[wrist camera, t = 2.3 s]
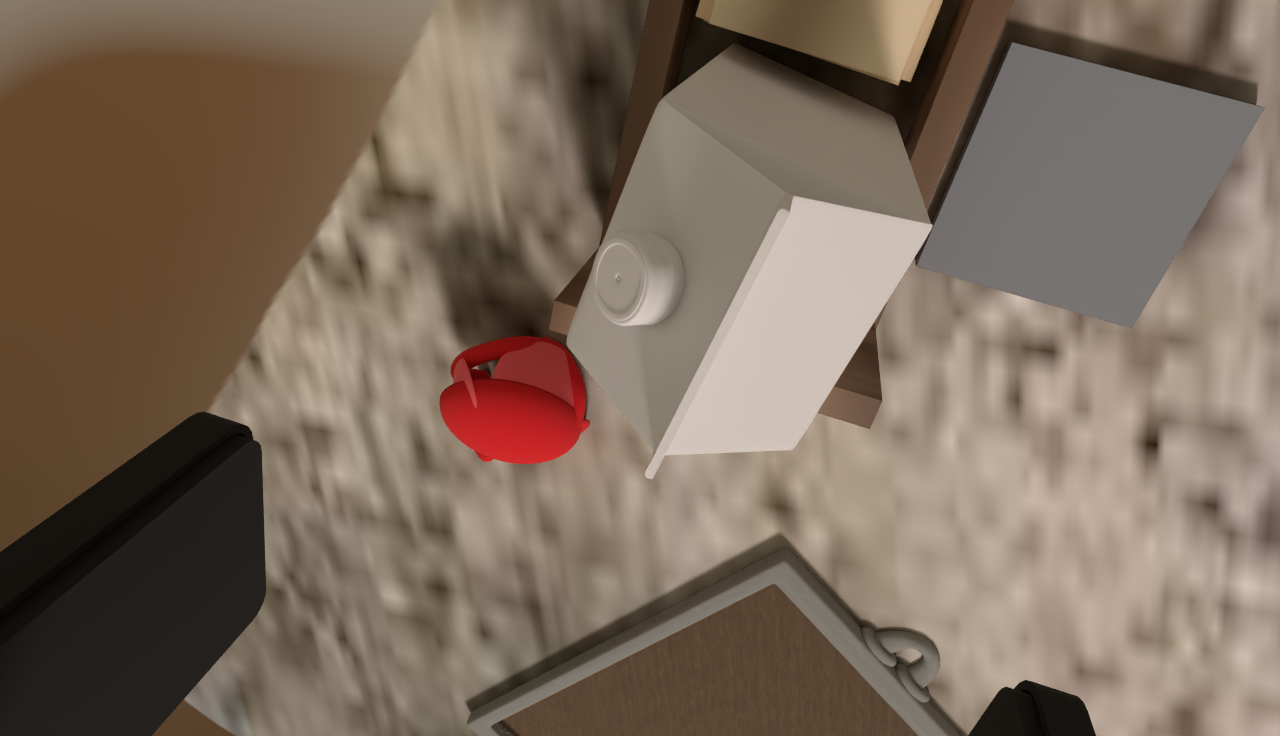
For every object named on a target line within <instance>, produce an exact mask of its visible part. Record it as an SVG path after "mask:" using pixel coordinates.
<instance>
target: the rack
mask: <svg viewBox="0 0 1280 736" xmlns="http://www.w3.org/2000/svg"><path fill="white" fill-rule="evenodd" d="M695 2H696V0H650V2H649V7H648V12H647V16H646V21H645V26H644V31H643V36H642V41H641V46H640V50H639V55H638V60H637V65H636V70H635V75H634V80H633V85H632V89H631V94H630V99H629V104H628V109H627V114H626V119H625V123H624V128H623V133H622V138H621V143H620V148H619V153H618V158H617V162H616V167H615V172H614V177H613V182H612V187H611V192H610V196H609V201H608V206H607V211H606V216H605V221H604V226H603V231H602V235H601V240H600V245H599V247H600V246H601V244H602V242H603V240H604V237H605V235H606V232H607V230H608V227H609V225H610V222H611V219H612V217H613V214H614V212H615V209H616V207H617V204H618V201H619V199H620V196H621V194H622V191H623V189H624V186H625V183H626V181H627V178H628V176H629V173H630V171H631V168H632V165H633V163H634V160H635V158H636V155H637V153H638V150H639V148H640V145H641V143H642V140H643V138H644V135H645V133H646V130H647V128H648V125H649V123H650V121H651V118H652V116H653V114H654V111H655V109H656V107H657V105H658V103H659V102H660V101H661V99H662V98H663V97H665V96H666V95H667V94H668V93H669V92H671V91H672V90H673V89H674V88H676V84H677V79H678V75H679V71H680V66H681V62H682V58H683V53H684V49H685V45H686V41H687V36H688V32H689V28H690V23H691V19H692V15H693V10H694V6H695ZM1012 3H1013V0H961V1H960V3H959V6H958V9H957V11H956V14H955V16H954V19H953V22H952V24H951V27H950V29H949V32H948V34H947V37H946V40H945V42H944V45H943V47H942V50H941V52H940V55H939V58H938V60H937V63H936V65H935V68H934V71H933V73H932V76H931V78H930V81H929V83H928V86H927V89H926V91H925V94H924V96H923V99H922V102H921V104H920V107H919V109H918V112H917V114H916V117H915V120H914V122H913V125H912V127H911V130H910V132H909V135H908V138H907V140H906V143H905V145H904V147H905V149H906V152H907V155H908V158H909V161H910V164H911V167H912V170H913V173H914V176H915V178H916V181H917V184H918V187H919V190H920V193H921V196H922V199H923V202H924V204H925V207H926V208H927V206H928V204H929V201H930V199H931V196H932V194H933V192H934V189H935V187H936V184H937V182H938V180H939V177H940V175H941V172H942V170H943V168H944V165H945V163H946V160H947V158H948V156H949V153H950V151H951V149H952V146H953V144H954V141H955V139H956V137H957V134H958V132H959V129H960V127H961V125H962V122H963V120H964V117H965V115H966V113H967V110H968V108H969V106H970V103H971V101H972V98H973V96H974V94H975V91H976V89H977V86H978V84H979V82H980V79H981V77H982V74H983V72H984V70H985V67H986V65H987V63H988V60H989V58H990V55H991V53H992V51H993V48H994V46H995V43H996V41H997V39H998V36H999V34H1000V31H1001V29H1002V27H1003V24H1004V22H1005V20H1006V17H1007V15H1008V12H1009V10H1010V8H1011V5H1012ZM598 249H599V248H598ZM598 249H597V251H596V252H595V253H594V254H593V255H592V257H591V258H590V259H589V260H588V261H587V262H586V264H585V265H584V266H583V267H582V268H581V270H580V271H579V272H578V273H577V274H576V275H575V277H574V278H573V279H572V280H571V281H570V283H569V284H568V285H567V286H566V287H565V288H564V290H563V291H562V292H561V293H560V294H559V296H558V297H557V298H556V299H555V300H554V304H553V310H552V315H551V321H550V326H549V330H551V331H555V332H558V333H561V334H564V335H568V332H569V329H570V326H571V323H572V320H573V318H574V315H575V312H576V310H577V307H578V304H579V302H580V299H581V296H582V294H583V291H584V289H585V286H586V283H587V281H588V278H589V276H590V273H591V271H592V268H593V263H594V260H595V256H596V254H597V252H598ZM886 304H887V302H886ZM886 304H885V306H886ZM885 306H884V307H883V309H882V310H881V312H880V313H879V315H878V317H877V318H876V320H875V321H874V323H873V325H872V326H871V328H870V329H869V331H868V333H867V334H866V336H865V337H864V339H863V341H862V342H861V344H860V345H859V347H858V349H857V350H856V352H855V353H854V355H853V357H852V358H851V360H850V361H849V363H848V364H847V366H846V368H845V369H844V371H843V372H842V374H841V376H840V377H839V379H838V380H837V382H836V384H835V385H834V387H833V388H832V390H831V392H830V393H829V395H828V396H827V398H826V400H825V401H824V403H823V404H822V406H821V408H820V409H819V411H818V412H817V413H820V414H823V415H826V416H829V417H833V418H836V419H839V420H842V421H846V422H849V423H852V424H855V425H858V426H862V427H865V428H868V429H870V427H871V425H872V423H873V420H874V418H875V416H876V414H877V411H878V409H879V407H880V405H881V402H882V393H881V383H880V372H879V361H878V350H877V340H876V328H877V325H878V323H879V321H880V318H881V316H882V313H883V311H884V309H885Z"/></svg>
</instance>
